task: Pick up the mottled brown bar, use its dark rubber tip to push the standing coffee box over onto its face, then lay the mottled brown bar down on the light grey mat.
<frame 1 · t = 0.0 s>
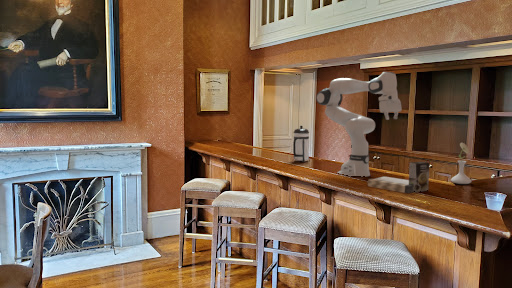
hand: (391, 119, 259), 39 cm above the table, tool pointing down, fingers open, 8 cm apart
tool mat: (400, 182, 255), on the table
coffee box: (418, 190, 233), on the table
mottled brown bar: (389, 189, 237), on the table
flower in vase: (460, 183, 251), on the table
coffee press: (300, 161, 341), on the table
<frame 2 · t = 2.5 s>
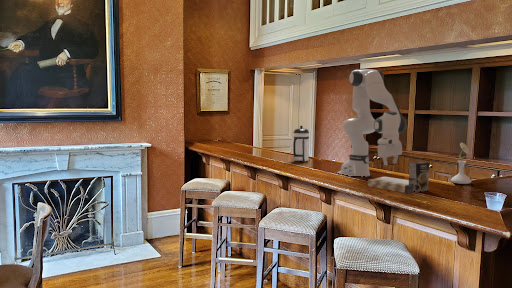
hand: (390, 164, 235), 15 cm above the table, tool pointing down, fingers open, 8 cm apart
nothing on the table moved.
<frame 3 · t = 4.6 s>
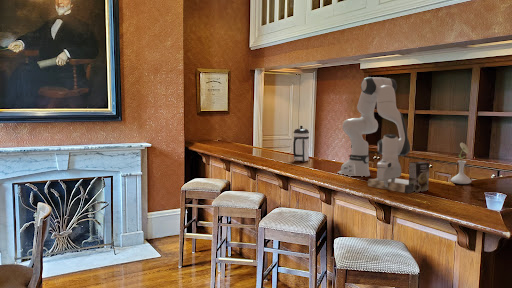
hand: (389, 186, 237), 2 cm above the table, tool pointing down, fingers closed on mottled brown bar, 4 cm apart
mottled brown bar: (389, 189, 237), on the table, touching gripper
everything else where it was.
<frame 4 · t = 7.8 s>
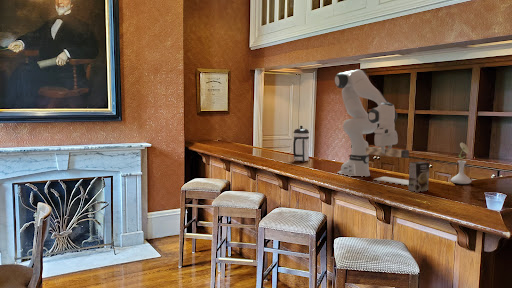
hand: (386, 152, 247), 20 cm above the table, tool pointing down, fingers closed on mottled brown bar, 4 cm apart
mottled brown bar: (386, 155, 247), point 18 cm above the table, touching gripper
everything else where it was.
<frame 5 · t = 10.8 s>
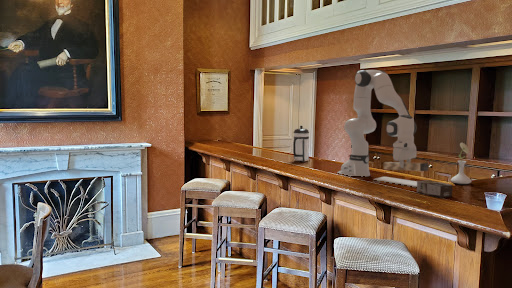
hand: (404, 167, 238), 12 cm above the table, tool pointing down, fingers closed on mottled brown bar, 4 cm apart
coffee box: (422, 185, 230), point 3 cm above the table
mottled brown bar: (405, 169, 238), point 11 cm above the table, tilted 5°, touching gripper
everything else where it was.
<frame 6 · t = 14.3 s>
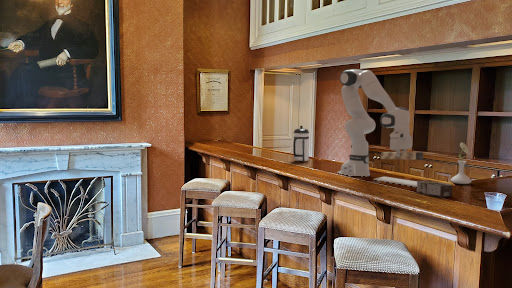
hand: (401, 156, 253), 16 cm above the table, tool pointing down, fingers closed on mottled brown bar, 4 cm apart
mottled brown bar: (401, 158, 253), point 15 cm above the table, tilted 5°, touching gripper
everything else where it was.
when the fingers open (4 cm above the table, at t = 17.3 s): mottled brown bar stays where it is, resting on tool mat.
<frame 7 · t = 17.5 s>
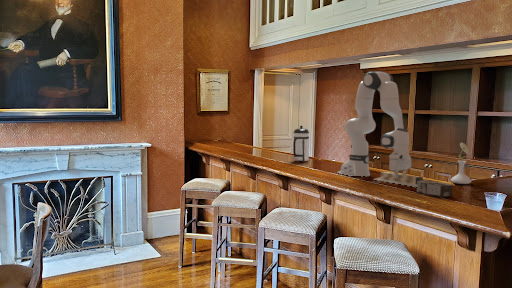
hand: (400, 176, 254), 4 cm above the table, tool pointing down, fingers open, 6 cm apart
mottled brown bar: (400, 181, 254), point 1 cm above the table, touching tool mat
everything else where it was.
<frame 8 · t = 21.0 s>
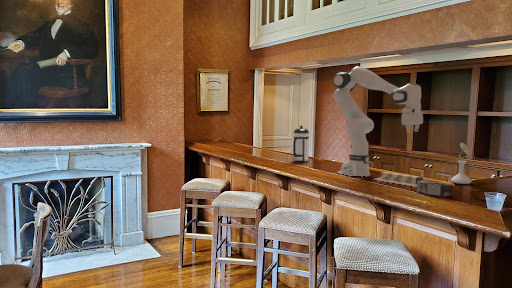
hand: (412, 131, 255), 31 cm above the table, tool pointing down, fingers open, 8 cm apart
nothing on the table moved.
at the end: coffee box tilted 90°; mottled brown bar inside the target area on the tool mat (0.2 cm from its centre), point 1.0 cm above the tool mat's base; the gripper is holding nothing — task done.
